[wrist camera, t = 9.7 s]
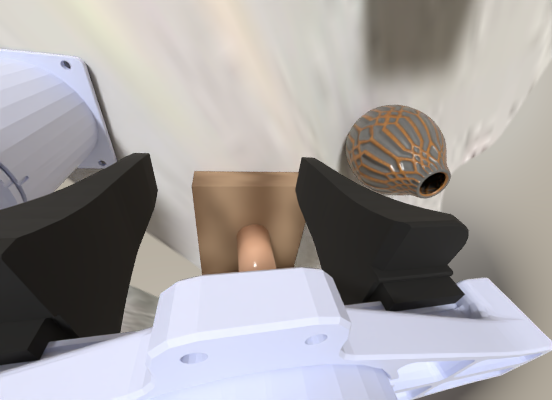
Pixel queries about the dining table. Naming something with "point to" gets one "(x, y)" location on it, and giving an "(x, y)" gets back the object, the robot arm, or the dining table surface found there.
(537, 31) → the dining table surface
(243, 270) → the peach rounded cylinder
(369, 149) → the vase
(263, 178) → the brown wooden box
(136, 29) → the dining table surface
